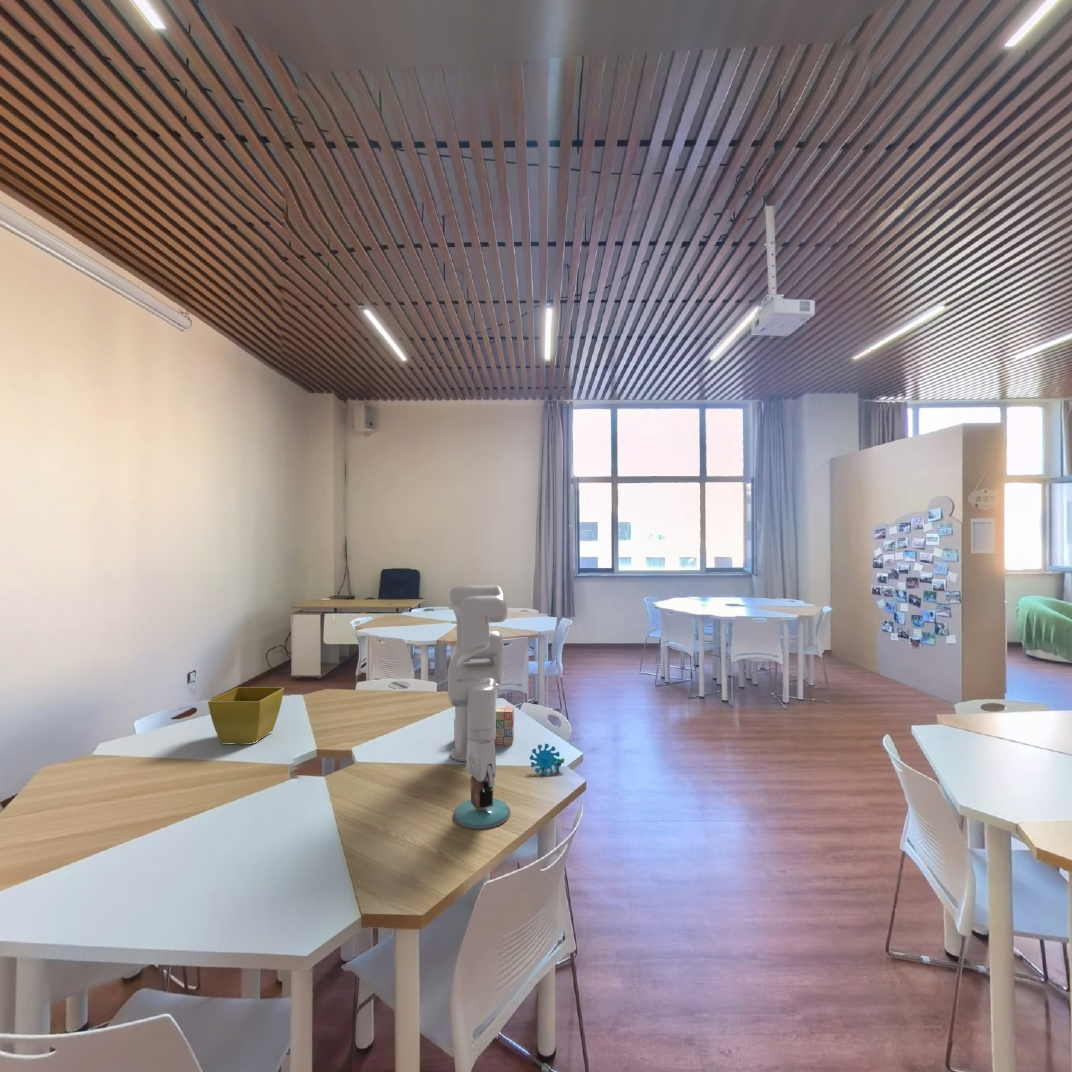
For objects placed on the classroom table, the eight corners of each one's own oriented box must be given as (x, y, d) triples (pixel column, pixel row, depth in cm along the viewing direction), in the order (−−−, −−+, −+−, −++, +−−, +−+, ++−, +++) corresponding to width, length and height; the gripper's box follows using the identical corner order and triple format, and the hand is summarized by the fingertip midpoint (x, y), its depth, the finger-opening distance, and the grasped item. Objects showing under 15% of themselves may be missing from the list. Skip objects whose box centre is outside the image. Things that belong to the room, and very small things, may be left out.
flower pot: (258, 748, 187) (258, 701, 187) (205, 748, 187) (206, 701, 188) (284, 730, 206) (285, 687, 206) (237, 730, 206) (237, 687, 207)
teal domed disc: (445, 809, 142) (445, 804, 142) (496, 796, 149) (496, 792, 149) (465, 835, 129) (465, 830, 129) (519, 820, 136) (519, 815, 136)
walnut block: (470, 802, 140) (470, 776, 140) (486, 798, 142) (486, 772, 142) (477, 810, 136) (477, 782, 136) (493, 805, 138) (493, 779, 138)
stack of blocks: (453, 745, 189) (453, 710, 190) (457, 738, 196) (457, 705, 196) (512, 745, 188) (512, 711, 189) (514, 739, 195) (514, 706, 195)
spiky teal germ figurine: (528, 771, 162) (531, 740, 169) (526, 779, 166) (530, 748, 173) (563, 776, 162) (565, 745, 169) (561, 784, 166) (563, 753, 173)
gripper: (457, 725, 145) (457, 792, 145) (481, 745, 130) (481, 819, 130) (482, 721, 149) (482, 786, 148) (508, 739, 134) (508, 812, 134)
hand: (481, 800), depth 139 cm, fingers closed on walnut block, 4 cm apart
